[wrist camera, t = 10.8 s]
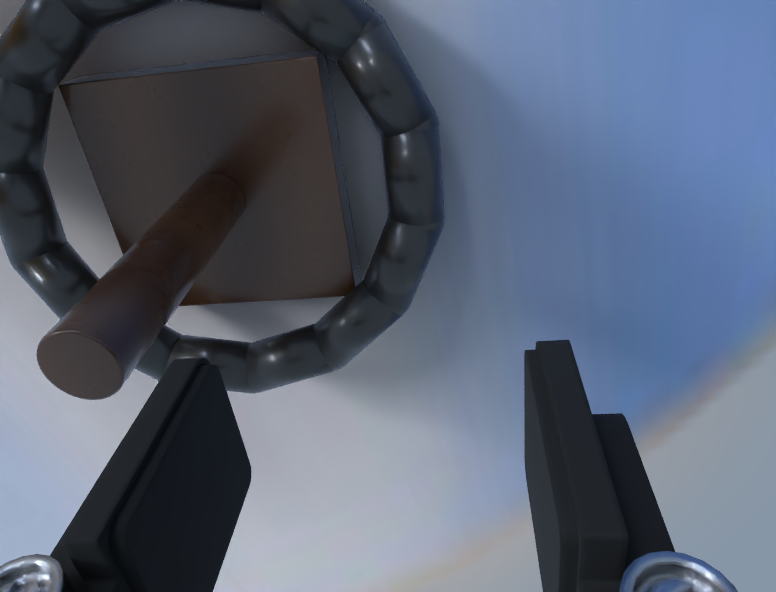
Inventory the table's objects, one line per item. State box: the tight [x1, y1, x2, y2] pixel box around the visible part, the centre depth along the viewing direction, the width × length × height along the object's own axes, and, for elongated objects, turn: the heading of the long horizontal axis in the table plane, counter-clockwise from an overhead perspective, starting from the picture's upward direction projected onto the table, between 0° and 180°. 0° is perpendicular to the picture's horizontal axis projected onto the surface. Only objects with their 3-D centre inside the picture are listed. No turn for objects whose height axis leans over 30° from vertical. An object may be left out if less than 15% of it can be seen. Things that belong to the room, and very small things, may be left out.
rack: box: [37, 49, 361, 400], centre depth 19 cm, size 9×9×12 cm
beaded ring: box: [0, 0, 445, 393], centre depth 21 cm, size 16×16×2 cm
